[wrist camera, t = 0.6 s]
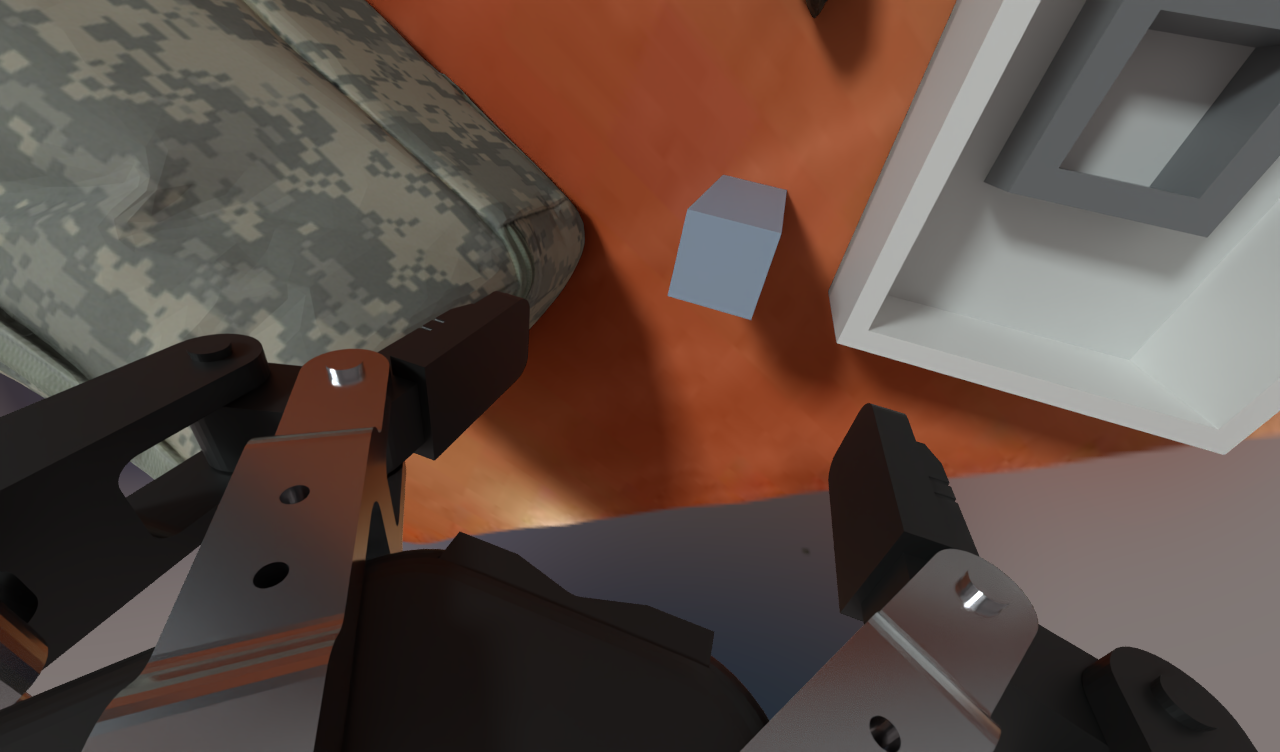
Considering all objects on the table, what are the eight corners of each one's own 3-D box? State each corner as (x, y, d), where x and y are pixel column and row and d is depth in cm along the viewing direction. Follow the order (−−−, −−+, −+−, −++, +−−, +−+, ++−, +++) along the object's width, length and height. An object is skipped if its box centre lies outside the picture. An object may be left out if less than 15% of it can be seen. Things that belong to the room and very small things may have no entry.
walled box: (1104, -333, 15) (1303, -615, 9) (1747, -291, 12) (2587, -638, 6) (828, 291, 27) (836, 343, 21) (1123, 372, 24) (1224, 455, 19)
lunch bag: (228, 152, 34) (-388, 207, 16) (276, -117, 24) (-1146, -717, 7) (490, 385, 39) (226, 627, 21) (621, 236, 29) (332, 456, 11)
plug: (723, 174, 25) (687, 209, 17) (786, 190, 25) (781, 233, 17) (706, 237, 27) (667, 295, 19) (765, 253, 27) (751, 319, 19)
